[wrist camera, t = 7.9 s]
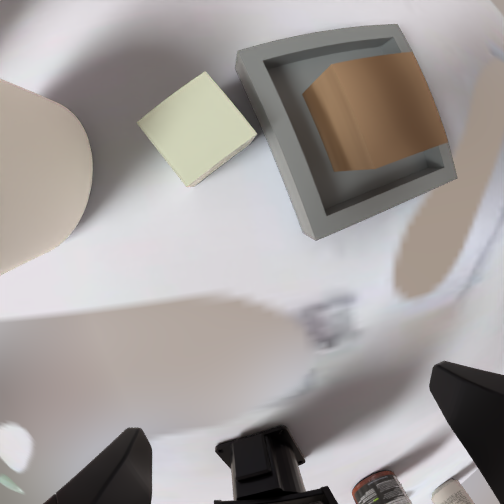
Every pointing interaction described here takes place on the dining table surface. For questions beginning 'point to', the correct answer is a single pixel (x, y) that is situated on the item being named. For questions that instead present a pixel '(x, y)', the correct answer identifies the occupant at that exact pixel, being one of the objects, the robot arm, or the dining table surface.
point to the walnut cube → (374, 111)
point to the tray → (307, 136)
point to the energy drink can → (451, 494)
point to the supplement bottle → (380, 490)
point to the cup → (39, 175)
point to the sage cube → (197, 129)
